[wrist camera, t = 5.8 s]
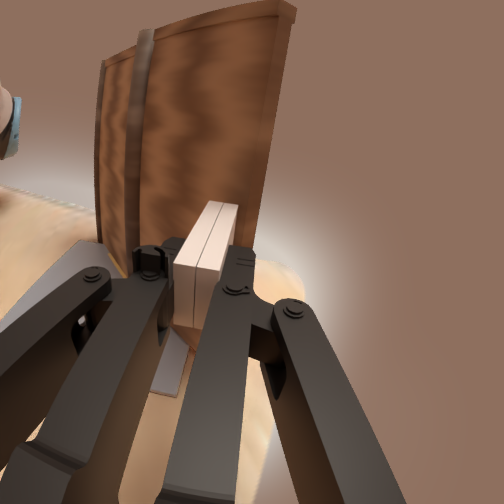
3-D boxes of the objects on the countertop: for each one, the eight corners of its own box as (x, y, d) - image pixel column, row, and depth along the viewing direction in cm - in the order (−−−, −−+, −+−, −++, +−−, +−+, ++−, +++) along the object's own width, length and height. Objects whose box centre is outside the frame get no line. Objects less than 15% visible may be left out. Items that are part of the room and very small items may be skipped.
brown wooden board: (141, 296, 28) (154, 29, 16) (152, 292, 29) (169, 32, 17) (220, 378, 21) (279, -2, 10) (233, 369, 22) (297, 8, 10)
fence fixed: (154, 294, 30) (171, 31, 18) (134, 301, 29) (145, 28, 16) (110, 236, 39) (117, 54, 27) (95, 240, 38) (99, 54, 26)
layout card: (-6, 332, 19) (-8, 329, 19) (80, 242, 37) (79, 239, 36) (176, 397, 20) (176, 394, 19) (213, 265, 37) (213, 261, 37)
